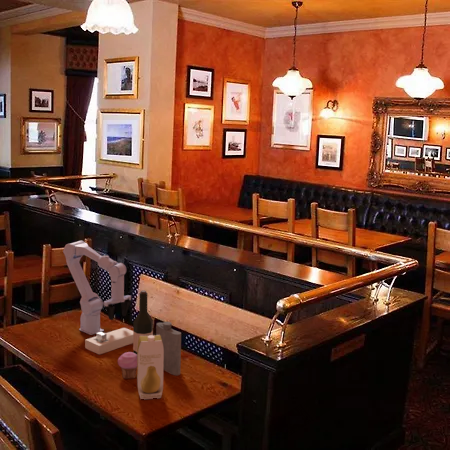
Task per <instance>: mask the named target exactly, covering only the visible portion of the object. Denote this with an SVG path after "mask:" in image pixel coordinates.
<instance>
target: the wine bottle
mask: <svg viewBox="0 0 450 450" xmlns="http://www.w3.org/2000/svg"><path fill="white" fill-rule="evenodd" d="M138 295H139V296H138V297H139V300H138V302H139V305H138V306H139V307H138V309H139V310H138V311H139V312H138V314H137V316H135V319H134V321H133V323H132V324H133V325H132V326H133V328H132V329H133V330H132V331H133V343H132V346H133V347H132V349H133V350H132V352H133V353H135V354H137V347H138V340H139V337H140V336H149V335H153V336H154V320H153V318H152V317H151V315H150V314H149V312H148V292H147V290H140V292H139V294H138Z"/></svg>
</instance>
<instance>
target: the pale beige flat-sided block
mask: <svg viewBox="0 0 450 450" xmlns="http://www.w3.org/2000/svg"><path fill="white" fill-rule="evenodd" d="M104 333H105V334H107V341H106V342H103V343H100V342H98V341H97V340H96V336H93V337H89V338H87V339H84V343H85V345H84V347H85V349H86V350H88V351H90V352H93V353H96V354H97V355H103V354H106V353H108V352H111V351H114V350H116V349H119V348H123V347H126V346H128V345H133V330H131V329H129V328H127V327H121V328H119V329H115V330H112V331H107V332H104Z"/></svg>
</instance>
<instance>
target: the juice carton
mask: <svg viewBox="0 0 450 450" xmlns="http://www.w3.org/2000/svg"><path fill="white" fill-rule="evenodd" d="M163 361H164V348H163V341H162V339H161V336H160V335H156V334H153V335H149V336H140V337H139V340H138V347H137V369H136V383H137V384H136V386H137V391H138V395H139V398H140V400H141V399H144V400H154V399H153V398H157V399H161V398H162V395H163V390H164V370H163Z"/></svg>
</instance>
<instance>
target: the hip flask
mask: <svg viewBox="0 0 450 450" xmlns="http://www.w3.org/2000/svg"><path fill="white" fill-rule="evenodd" d="M155 325H156V326H155V327H156V328H155V329H156V330H155V332H156V333H155V335H160V336H161V339H162V341H163V348H164V361H163V371H164V372H166V373H169V374H170V375H173V376H180V375H181V359H182V356H181V353H182V352H181V351H182V332H181V331H177V330H175V329H173V328H172V325H173V324H172V322H171V321H164V322H156V324H155Z"/></svg>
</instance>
